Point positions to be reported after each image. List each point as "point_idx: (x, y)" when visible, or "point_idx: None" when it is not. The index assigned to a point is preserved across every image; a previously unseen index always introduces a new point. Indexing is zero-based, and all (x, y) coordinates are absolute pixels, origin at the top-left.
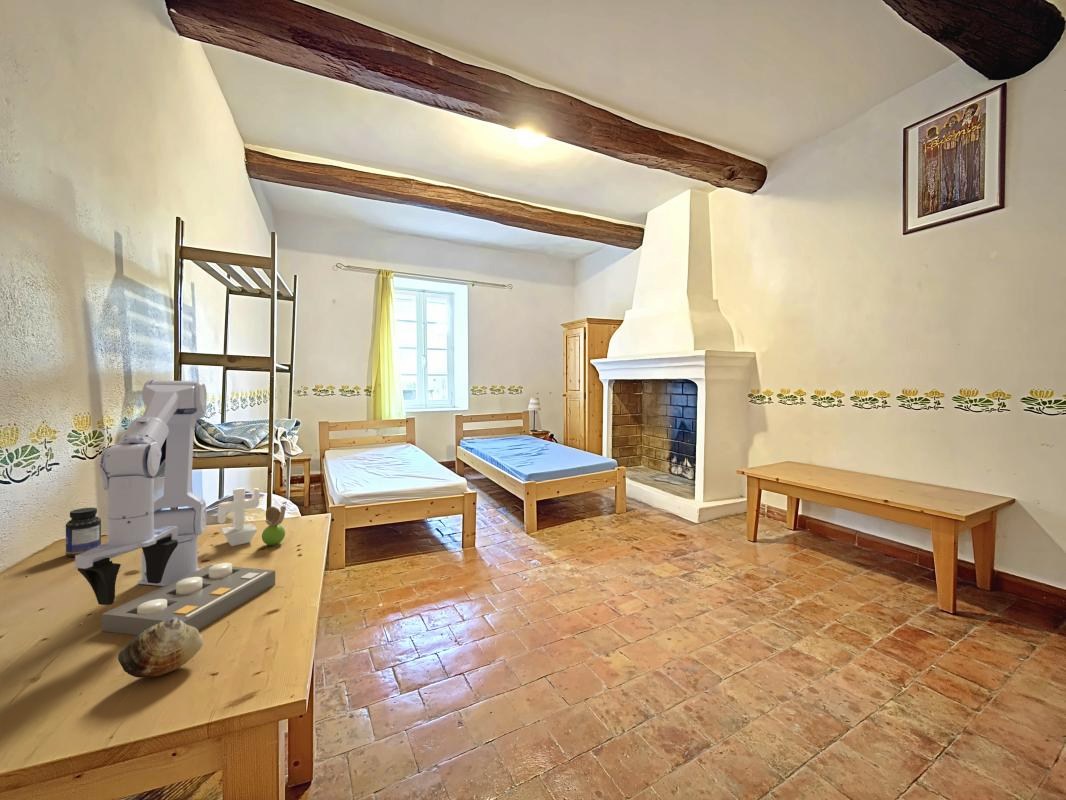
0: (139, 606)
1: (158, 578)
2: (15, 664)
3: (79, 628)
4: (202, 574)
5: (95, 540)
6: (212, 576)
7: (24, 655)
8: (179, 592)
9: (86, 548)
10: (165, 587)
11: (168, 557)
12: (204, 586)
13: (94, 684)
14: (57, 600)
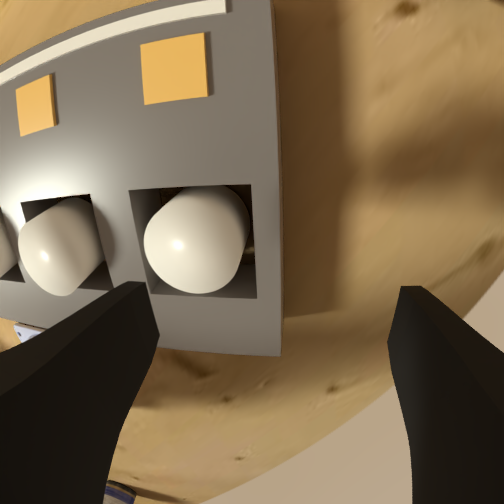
0: (219, 282)
1: (129, 294)
2: None
3: (282, 372)
4: (16, 291)
5: (107, 495)
6: (4, 246)
7: None
8: (91, 247)
9: (118, 492)
10: None
11: (8, 355)
12: None
13: (498, 77)
14: (210, 459)
